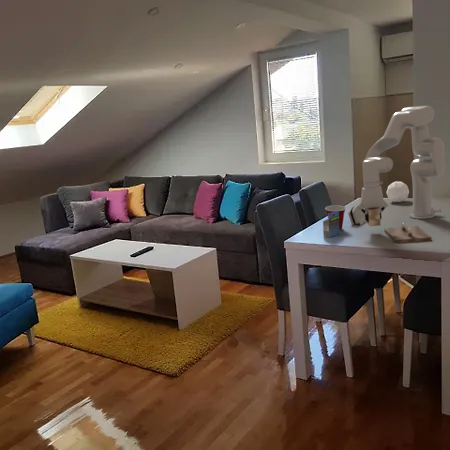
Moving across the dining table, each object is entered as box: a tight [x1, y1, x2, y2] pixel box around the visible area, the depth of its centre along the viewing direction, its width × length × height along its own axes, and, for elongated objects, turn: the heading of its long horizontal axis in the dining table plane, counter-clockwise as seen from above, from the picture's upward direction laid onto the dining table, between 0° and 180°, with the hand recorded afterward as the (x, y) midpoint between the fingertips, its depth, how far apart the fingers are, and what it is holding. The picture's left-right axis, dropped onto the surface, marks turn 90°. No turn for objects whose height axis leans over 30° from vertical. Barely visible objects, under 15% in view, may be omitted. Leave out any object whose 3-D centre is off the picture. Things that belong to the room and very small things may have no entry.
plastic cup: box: [324, 204, 347, 231], centre depth 260 cm, size 11×11×12 cm
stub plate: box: [384, 222, 432, 244], centre depth 235 cm, size 16×22×5 cm
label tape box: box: [322, 211, 340, 239], centre depth 248 cm, size 9×4×12 cm, turn 133°
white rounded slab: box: [348, 205, 367, 226], centre depth 272 cm, size 17×5×10 cm, turn 146°
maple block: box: [366, 208, 381, 227], centre depth 244 cm, size 5×8×8 cm, turn 175°
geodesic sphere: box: [386, 180, 410, 203], centre depth 311 cm, size 14×14×14 cm
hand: (373, 220), depth 245 cm, fingers closed on maple block, 5 cm apart
